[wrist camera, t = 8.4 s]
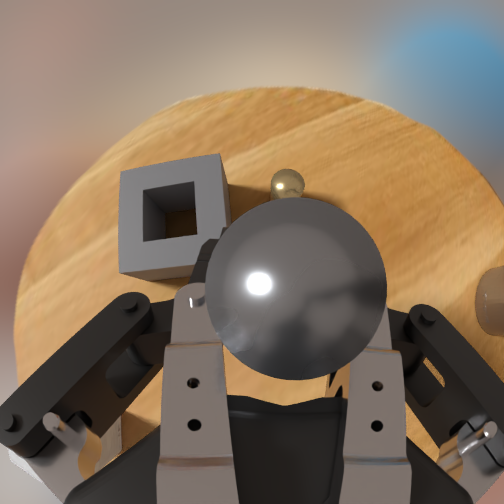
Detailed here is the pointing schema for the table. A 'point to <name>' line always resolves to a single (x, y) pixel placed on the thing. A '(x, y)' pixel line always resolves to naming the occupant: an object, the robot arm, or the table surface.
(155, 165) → the collar block
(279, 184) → the brass pin
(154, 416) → the table surface
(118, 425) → the small box
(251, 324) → the grey metal rod
